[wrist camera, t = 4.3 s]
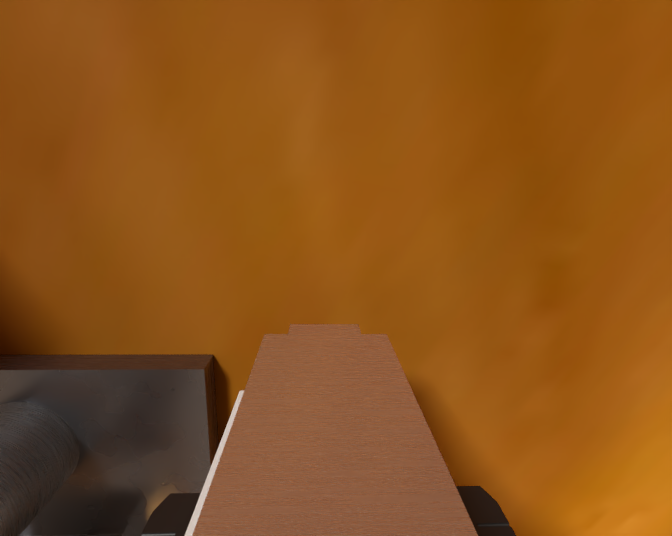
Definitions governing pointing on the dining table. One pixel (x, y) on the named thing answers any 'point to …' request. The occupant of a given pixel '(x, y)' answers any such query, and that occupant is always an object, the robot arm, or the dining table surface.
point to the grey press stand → (101, 440)
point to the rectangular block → (330, 446)
